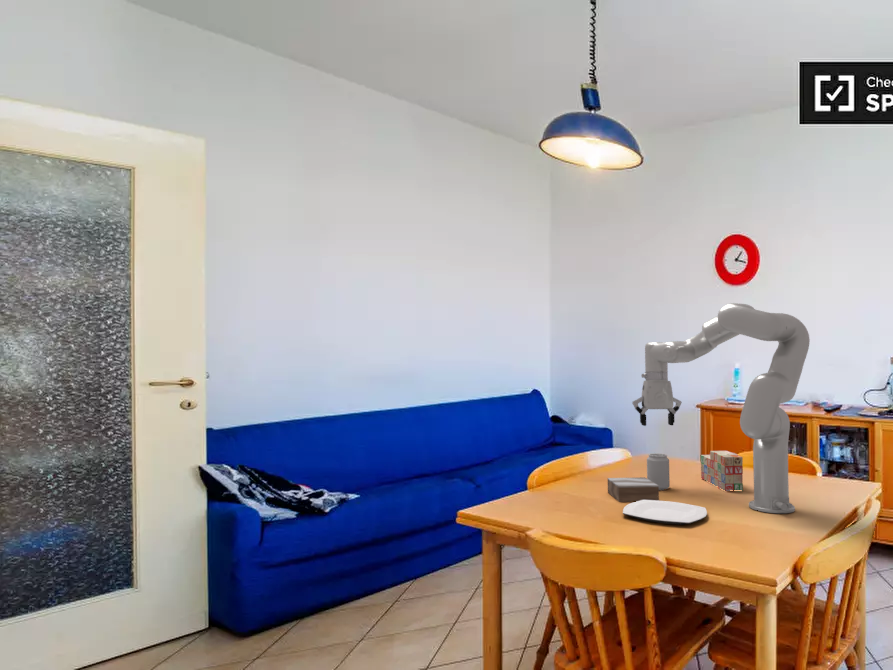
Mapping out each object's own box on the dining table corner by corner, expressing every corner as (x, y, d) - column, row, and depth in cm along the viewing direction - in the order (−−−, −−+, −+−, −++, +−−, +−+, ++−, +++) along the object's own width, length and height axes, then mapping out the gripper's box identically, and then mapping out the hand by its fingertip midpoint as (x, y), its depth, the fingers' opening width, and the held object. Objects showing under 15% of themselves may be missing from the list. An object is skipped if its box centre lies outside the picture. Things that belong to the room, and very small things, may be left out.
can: (644, 486, 225) (644, 452, 226) (665, 486, 225) (665, 452, 225) (650, 490, 218) (650, 456, 218) (672, 490, 218) (671, 456, 218)
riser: (658, 501, 203) (658, 485, 204) (619, 501, 203) (618, 486, 203) (645, 491, 216) (644, 477, 217) (607, 492, 216) (607, 478, 216)
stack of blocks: (700, 479, 236) (700, 446, 237) (717, 479, 236) (716, 446, 236) (725, 492, 215) (724, 456, 215) (743, 492, 215) (742, 456, 215)
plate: (638, 503, 202) (638, 497, 202) (715, 513, 189) (714, 507, 189) (613, 519, 184) (612, 513, 184) (695, 532, 170) (695, 525, 170)
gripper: (635, 377, 219) (636, 426, 218) (684, 377, 219) (685, 426, 219) (629, 376, 226) (629, 424, 226) (676, 376, 226) (677, 423, 226)
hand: (657, 425), depth 222 cm, fingers open, 9 cm apart
